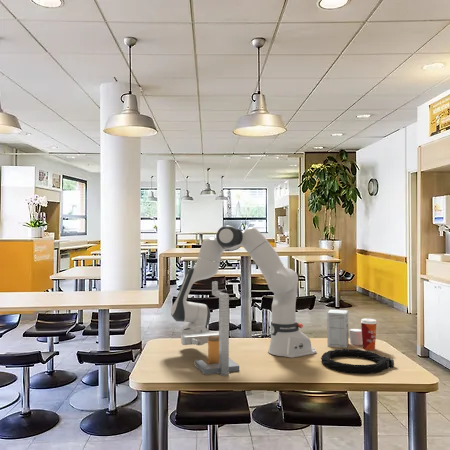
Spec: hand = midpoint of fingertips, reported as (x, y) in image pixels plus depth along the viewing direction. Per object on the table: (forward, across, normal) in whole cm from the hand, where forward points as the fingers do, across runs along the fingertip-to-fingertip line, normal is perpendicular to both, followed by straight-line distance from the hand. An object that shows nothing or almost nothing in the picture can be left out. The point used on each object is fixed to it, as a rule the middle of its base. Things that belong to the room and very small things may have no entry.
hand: (208, 341), depth 197 cm
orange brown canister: (+6, -1, -9) cm, 10 cm away
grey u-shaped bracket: (+9, -1, -9) cm, 12 cm away
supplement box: (-5, -70, -8) cm, 70 cm away
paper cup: (+6, -80, -8) cm, 80 cm away
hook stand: (+12, -1, -9) cm, 15 cm away
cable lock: (+25, -59, -9) cm, 64 cm away
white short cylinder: (-4, -80, -8) cm, 80 cm away
